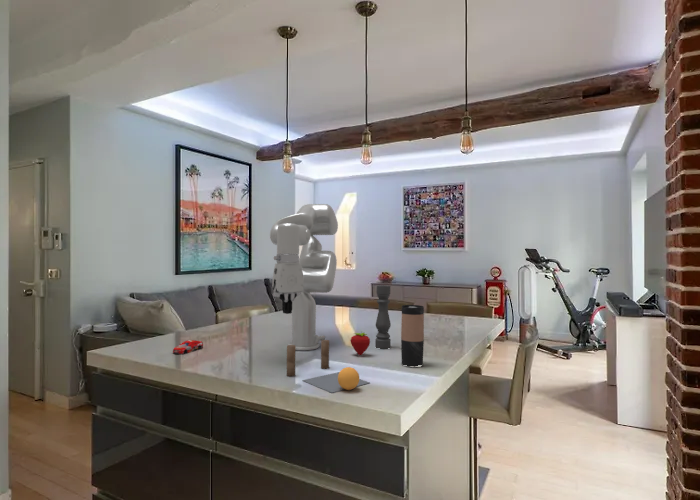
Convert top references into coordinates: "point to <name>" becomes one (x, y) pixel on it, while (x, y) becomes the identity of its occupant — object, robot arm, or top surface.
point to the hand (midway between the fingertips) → (287, 313)
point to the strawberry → (360, 342)
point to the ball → (348, 378)
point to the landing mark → (330, 382)
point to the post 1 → (291, 360)
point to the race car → (188, 347)
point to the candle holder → (383, 318)
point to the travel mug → (412, 335)
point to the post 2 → (324, 354)
